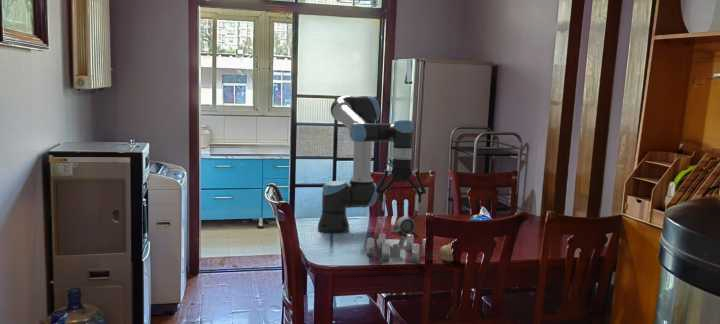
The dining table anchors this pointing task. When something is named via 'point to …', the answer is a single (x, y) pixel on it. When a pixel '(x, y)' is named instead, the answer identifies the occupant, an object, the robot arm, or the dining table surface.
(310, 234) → the dining table surface
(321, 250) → the dining table surface
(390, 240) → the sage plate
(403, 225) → the ceramic mug
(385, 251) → the spacer posts
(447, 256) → the onion
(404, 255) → the dining table surface
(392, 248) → the lighter
